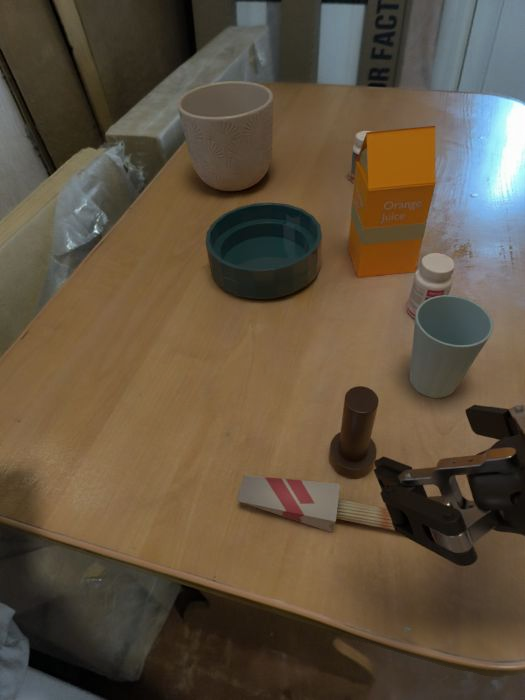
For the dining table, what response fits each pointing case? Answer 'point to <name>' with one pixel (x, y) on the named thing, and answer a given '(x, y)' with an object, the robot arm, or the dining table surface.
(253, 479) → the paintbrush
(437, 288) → the pill bottle
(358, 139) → the pill bottle
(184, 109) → the planter
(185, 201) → the dining table surface
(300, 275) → the bowl
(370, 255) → the orange juice
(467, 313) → the cup
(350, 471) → the grey brown flanged cylinder
